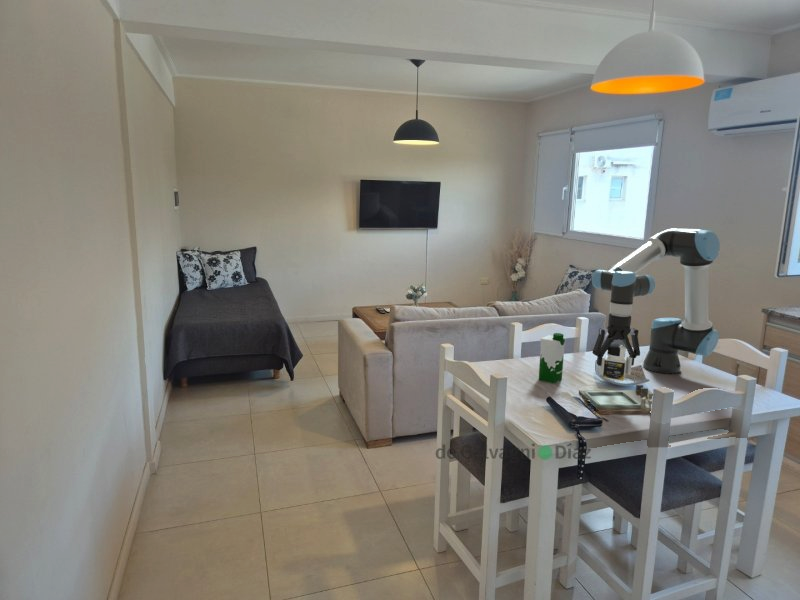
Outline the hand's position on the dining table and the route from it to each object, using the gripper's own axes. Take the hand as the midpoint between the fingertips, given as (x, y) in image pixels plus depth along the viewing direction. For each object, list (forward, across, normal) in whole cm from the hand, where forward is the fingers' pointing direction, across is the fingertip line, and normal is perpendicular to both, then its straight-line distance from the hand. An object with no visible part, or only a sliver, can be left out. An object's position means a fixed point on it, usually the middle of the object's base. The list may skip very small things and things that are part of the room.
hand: (614, 373), depth 198 cm
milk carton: (+12, +14, -27) cm, 33 cm away
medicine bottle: (+1, 0, 0) cm, 1 cm away
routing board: (+12, -6, -1) cm, 13 cm away
